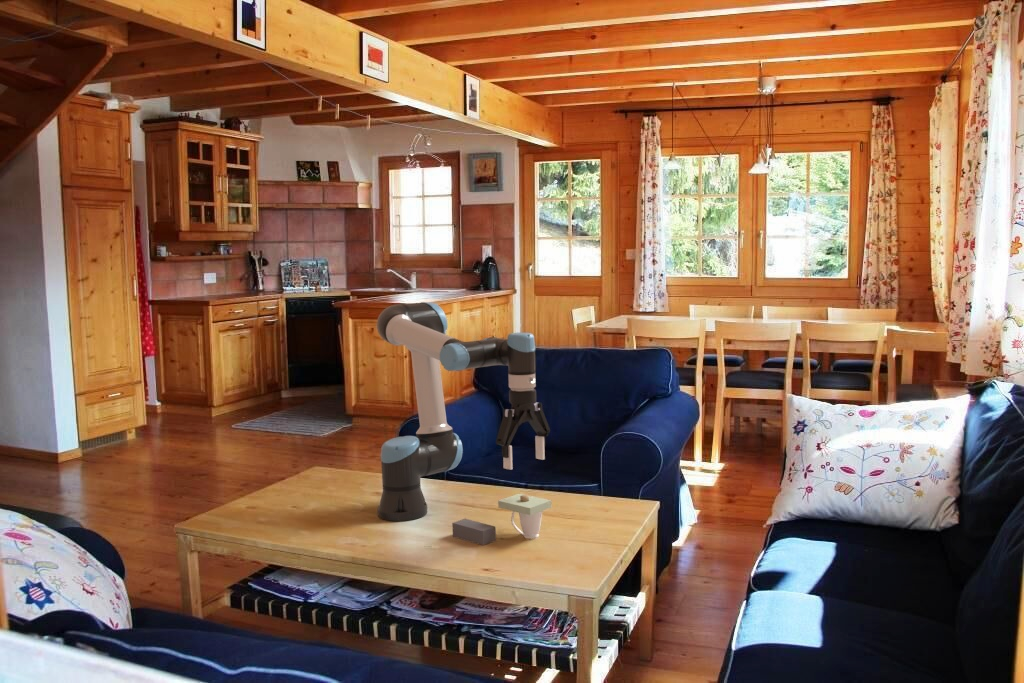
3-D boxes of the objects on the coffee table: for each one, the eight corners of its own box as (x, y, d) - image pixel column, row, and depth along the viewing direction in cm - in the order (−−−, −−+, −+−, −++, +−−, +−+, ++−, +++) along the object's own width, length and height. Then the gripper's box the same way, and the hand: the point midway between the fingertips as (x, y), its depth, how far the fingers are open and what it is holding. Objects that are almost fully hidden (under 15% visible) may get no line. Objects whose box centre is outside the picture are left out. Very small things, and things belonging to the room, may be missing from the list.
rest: (452, 536, 246) (452, 522, 246) (465, 532, 250) (465, 518, 249) (483, 545, 238) (482, 531, 238) (495, 540, 242) (495, 526, 241)
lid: (498, 507, 245) (498, 496, 245) (519, 500, 252) (519, 489, 252) (530, 515, 237) (529, 503, 237) (551, 507, 244) (551, 496, 244)
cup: (534, 542, 240) (534, 513, 239) (505, 536, 245) (504, 508, 245) (548, 534, 245) (547, 506, 245) (519, 529, 251) (518, 501, 250)
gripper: (501, 396, 229) (504, 475, 232) (561, 383, 248) (563, 456, 250) (481, 393, 234) (483, 470, 237) (541, 381, 253) (543, 453, 255)
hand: (524, 463), depth 243 cm, fingers open, 13 cm apart
